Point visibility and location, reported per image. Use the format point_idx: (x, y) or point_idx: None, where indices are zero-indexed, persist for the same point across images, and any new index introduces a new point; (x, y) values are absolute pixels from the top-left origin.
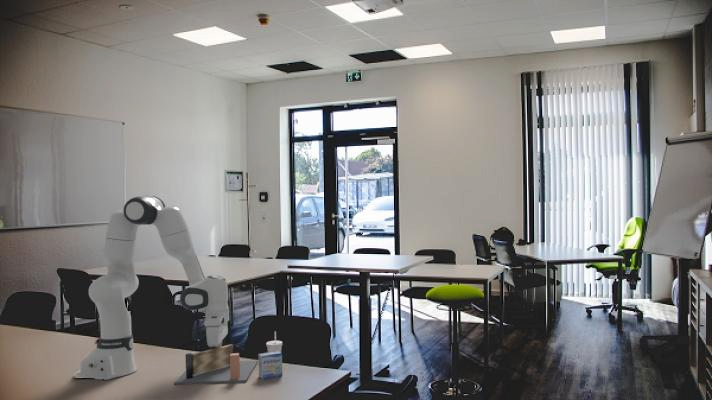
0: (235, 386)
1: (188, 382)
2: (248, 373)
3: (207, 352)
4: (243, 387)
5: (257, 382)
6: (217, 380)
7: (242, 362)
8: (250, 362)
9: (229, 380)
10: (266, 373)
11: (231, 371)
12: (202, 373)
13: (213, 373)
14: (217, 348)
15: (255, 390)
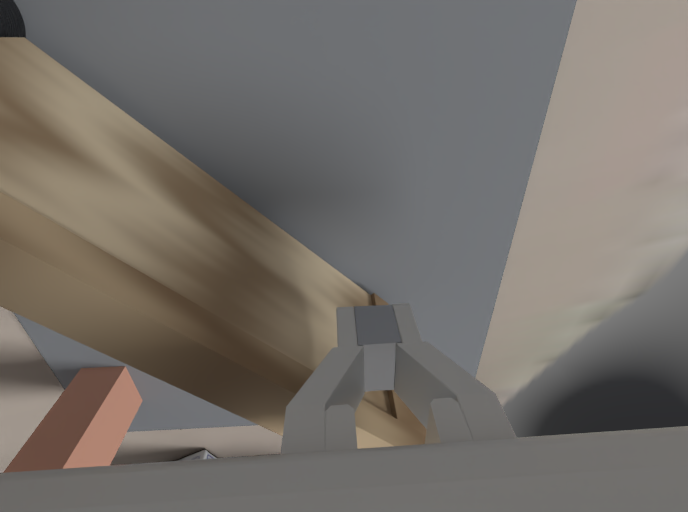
0: (16, 394)
1: None
2: (210, 422)
3: (50, 311)
4: (20, 426)
5: (117, 456)
6: None
7: (445, 353)
8: None
9: (53, 369)
10: None
11: (51, 419)
12: (154, 131)
13: None
14: (247, 403)
15: (5, 468)
